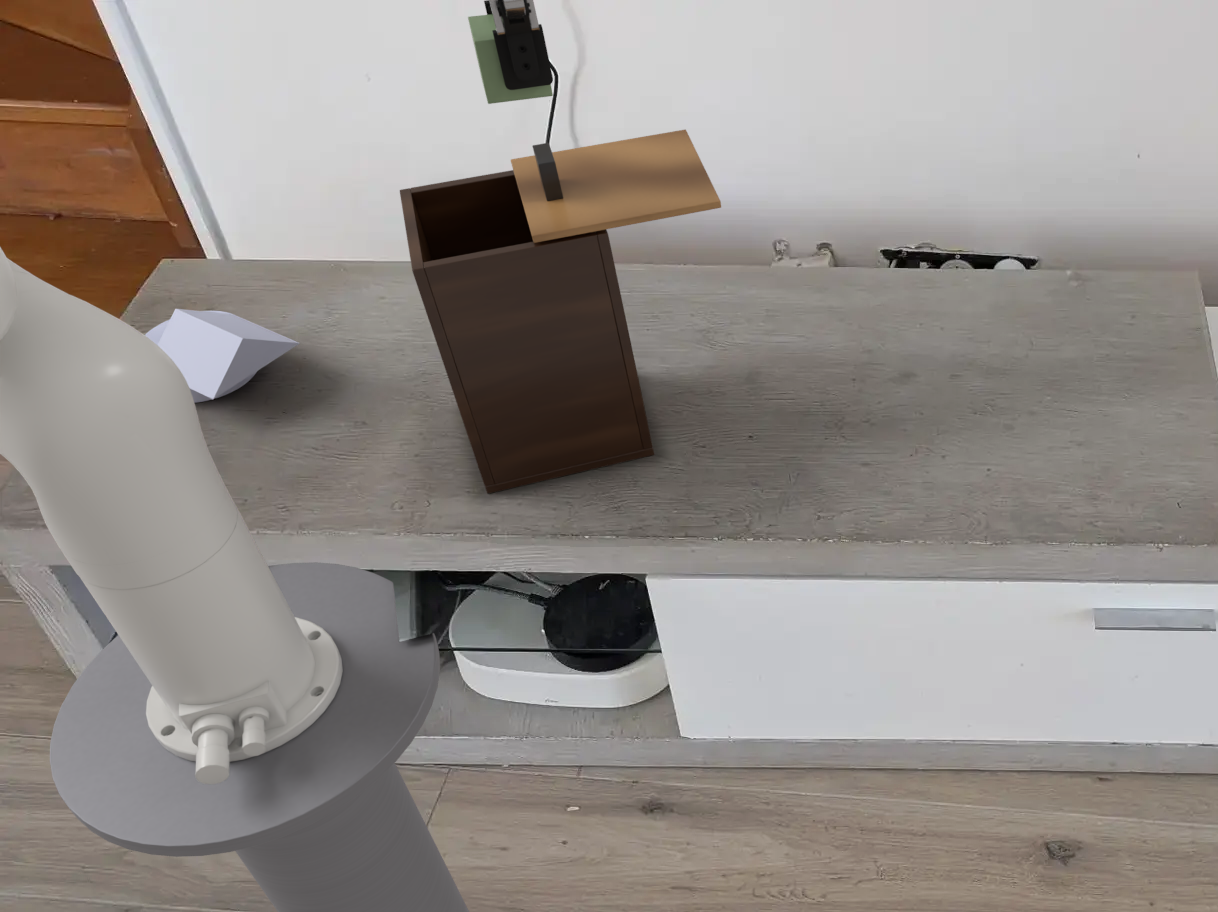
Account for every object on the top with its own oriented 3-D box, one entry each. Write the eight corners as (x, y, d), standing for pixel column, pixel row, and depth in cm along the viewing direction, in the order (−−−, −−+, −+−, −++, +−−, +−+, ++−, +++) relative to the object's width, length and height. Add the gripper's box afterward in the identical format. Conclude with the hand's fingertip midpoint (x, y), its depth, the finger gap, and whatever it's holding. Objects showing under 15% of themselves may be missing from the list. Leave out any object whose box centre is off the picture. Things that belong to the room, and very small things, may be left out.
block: (553, 96, 93) (541, 34, 90) (488, 104, 92) (474, 41, 89) (544, 70, 96) (532, 9, 93) (481, 78, 95) (467, 16, 92)
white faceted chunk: (313, 373, 118) (215, 330, 123) (286, 311, 113) (185, 268, 118) (228, 430, 113) (129, 382, 117) (196, 366, 108) (94, 319, 112)
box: (654, 455, 111) (608, 233, 96) (487, 494, 107) (412, 270, 92) (628, 374, 118) (581, 157, 103) (471, 409, 115) (399, 189, 100)
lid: (721, 208, 98) (715, 163, 95) (533, 243, 94) (522, 198, 92) (686, 136, 105) (680, 93, 103) (512, 166, 102) (500, 122, 99)
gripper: (387, -251, 85) (458, 30, 98) (405, -174, 74) (482, 132, 87) (507, -260, 87) (561, 16, 100) (542, -187, 76) (598, 114, 89)
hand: (524, 67), depth 93 cm, fingers closed on block, 4 cm apart
